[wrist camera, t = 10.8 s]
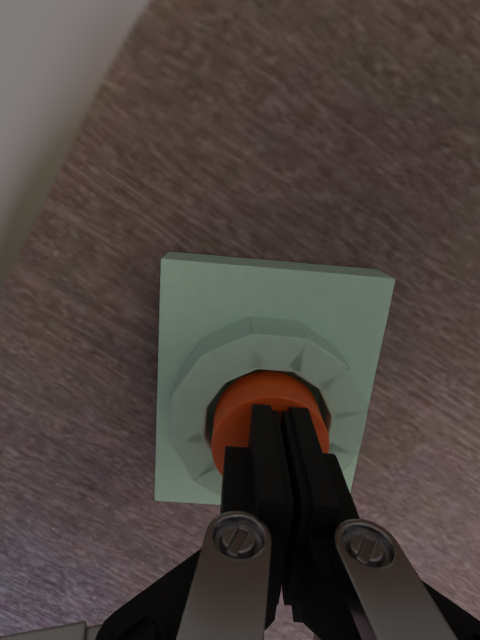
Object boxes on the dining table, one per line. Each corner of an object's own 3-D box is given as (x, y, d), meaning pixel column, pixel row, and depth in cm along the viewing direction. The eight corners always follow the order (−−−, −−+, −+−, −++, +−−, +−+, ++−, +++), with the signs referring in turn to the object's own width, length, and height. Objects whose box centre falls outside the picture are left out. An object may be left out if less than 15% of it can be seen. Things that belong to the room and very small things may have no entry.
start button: (218, 366, 13) (215, 391, 11) (325, 374, 13) (339, 400, 12) (210, 458, 14) (207, 493, 13) (310, 464, 14) (320, 501, 13)
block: (168, 250, 15) (149, 268, 11) (379, 269, 15) (419, 291, 12) (161, 473, 18) (144, 537, 15) (336, 484, 18) (359, 550, 15)
